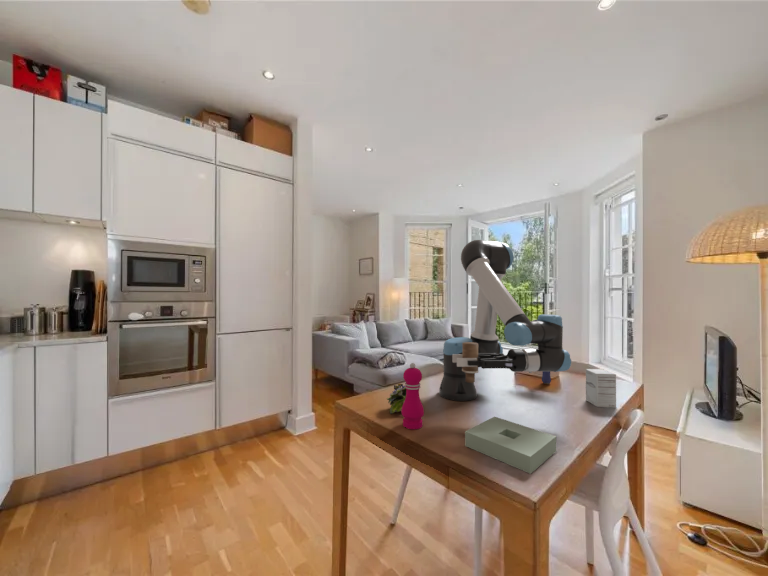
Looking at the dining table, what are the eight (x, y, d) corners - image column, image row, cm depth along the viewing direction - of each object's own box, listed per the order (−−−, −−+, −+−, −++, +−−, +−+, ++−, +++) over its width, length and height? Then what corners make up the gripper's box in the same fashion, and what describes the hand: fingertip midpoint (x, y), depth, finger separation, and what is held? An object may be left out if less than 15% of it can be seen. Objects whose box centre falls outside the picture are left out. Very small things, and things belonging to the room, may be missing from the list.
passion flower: (398, 421, 117) (406, 390, 124) (420, 424, 110) (428, 391, 116) (377, 410, 112) (387, 378, 118) (399, 412, 104) (409, 378, 110)
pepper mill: (417, 432, 96) (417, 366, 96) (397, 426, 100) (397, 363, 100) (427, 423, 102) (427, 362, 103) (407, 419, 106) (407, 359, 106)
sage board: (465, 445, 88) (465, 431, 88) (494, 429, 98) (494, 416, 98) (530, 473, 74) (530, 456, 74) (556, 451, 85) (556, 436, 85)
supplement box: (585, 400, 125) (584, 368, 125) (604, 401, 124) (604, 369, 124) (596, 407, 118) (595, 373, 118) (617, 407, 117) (616, 373, 117)
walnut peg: (458, 381, 107) (459, 343, 108) (467, 378, 111) (467, 341, 111) (472, 384, 103) (472, 345, 103) (481, 381, 107) (481, 343, 107)
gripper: (535, 378, 99) (462, 378, 98) (510, 364, 117) (448, 364, 116) (535, 354, 99) (462, 354, 98) (510, 344, 117) (448, 344, 116)
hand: (455, 360), depth 107 cm, fingers closed on walnut peg, 5 cm apart
